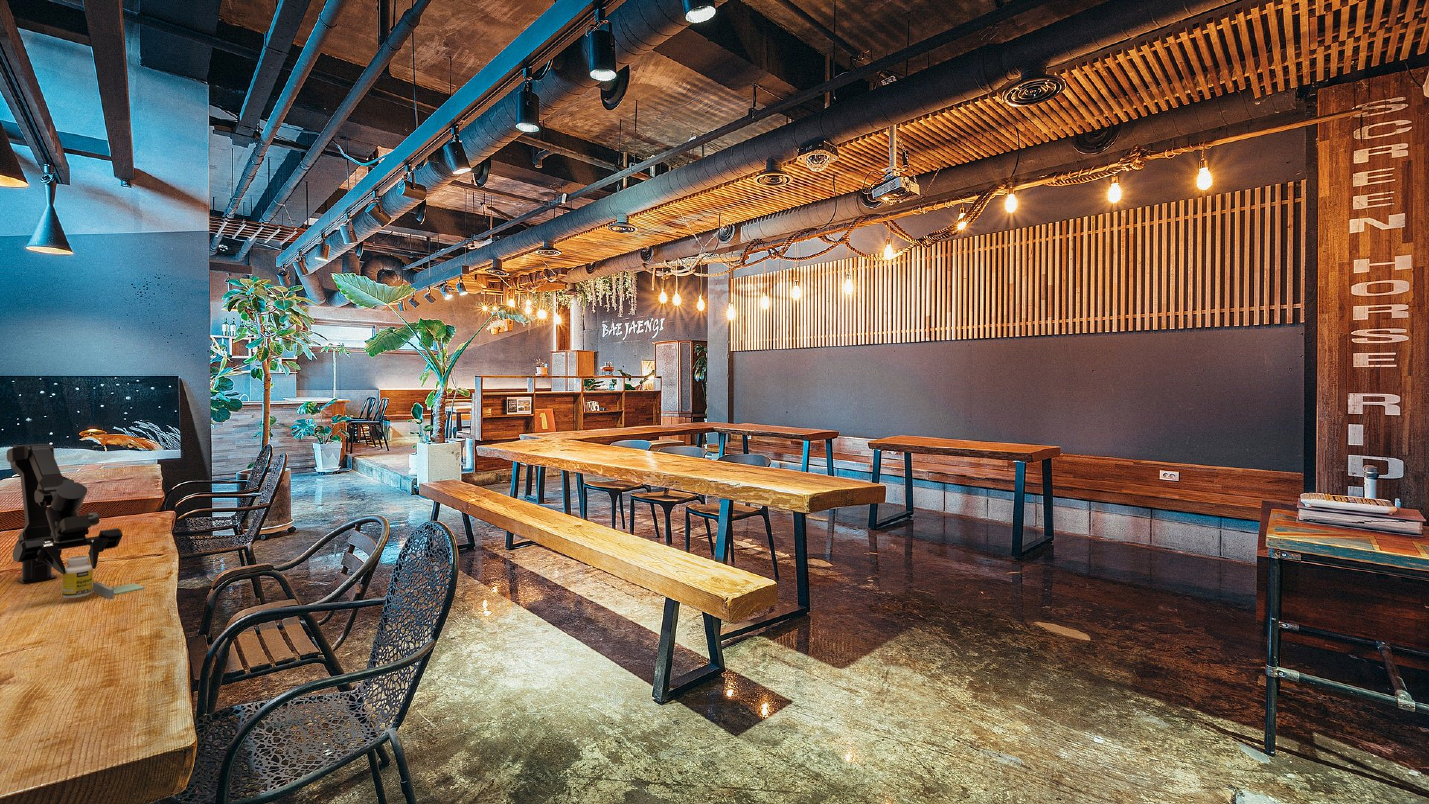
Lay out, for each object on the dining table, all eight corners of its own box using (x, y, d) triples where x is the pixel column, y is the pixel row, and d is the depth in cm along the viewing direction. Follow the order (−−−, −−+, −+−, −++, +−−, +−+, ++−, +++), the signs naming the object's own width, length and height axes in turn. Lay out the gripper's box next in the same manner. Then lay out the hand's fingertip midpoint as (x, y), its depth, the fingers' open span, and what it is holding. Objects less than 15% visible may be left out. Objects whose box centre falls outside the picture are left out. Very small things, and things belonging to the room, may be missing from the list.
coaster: (105, 590, 168) (105, 588, 168) (134, 584, 173) (134, 583, 173) (115, 594, 164) (115, 593, 164) (144, 588, 169) (144, 587, 169)
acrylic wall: (92, 591, 167) (92, 582, 167) (96, 590, 167) (96, 581, 167) (109, 599, 161) (109, 589, 161) (113, 598, 161) (113, 589, 161)
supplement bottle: (76, 599, 157) (76, 560, 157) (56, 598, 157) (56, 560, 157) (98, 592, 163) (98, 555, 162) (78, 591, 163) (78, 554, 163)
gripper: (20, 509, 153) (34, 560, 148) (120, 498, 170) (136, 544, 164) (10, 536, 157) (24, 587, 152) (109, 523, 174) (124, 569, 168)
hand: (79, 570), depth 159 cm, fingers closed on supplement bottle, 5 cm apart
